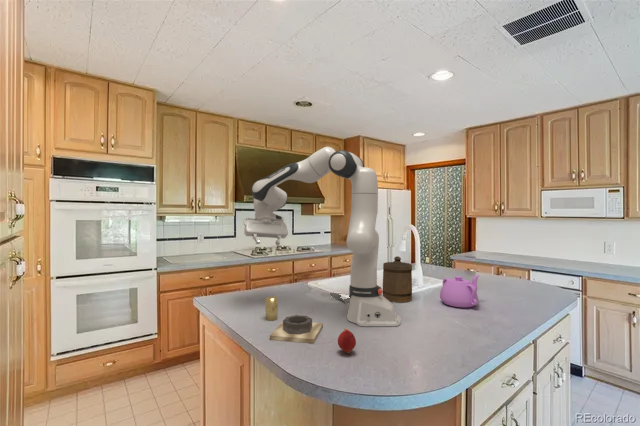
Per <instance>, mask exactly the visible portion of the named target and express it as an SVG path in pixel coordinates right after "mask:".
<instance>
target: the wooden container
mask: <svg viewBox="0 0 640 426" xmlns="http://www.w3.org/2000/svg"><path fill="white" fill-rule="evenodd" d="M393 259H394V260H393V261H387V262H383V265H382V267H383V269H382V291H383V292H382V296H384V297H385V298H386V299H387V300H389V301H390V302H391V303H410V302H411V301H412V299H413V277H412V276H413V273H412V270H413V264H411V263H409V262H402V261H401V260H402V258H401V257H400V256H394V258H393Z"/></svg>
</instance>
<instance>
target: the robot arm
mask: <svg viewBox="0 0 640 426" xmlns="http://www.w3.org/2000/svg"><path fill="white" fill-rule="evenodd" d="M330 172H332V173H333V174H334V175H336V176H338V177H341V178H343V179H348V180H349V181H350V182H351V205H350V207H351V208H350V216H349V217H350V218H349V223H348V229H347V230H348V231H347V237H346V241H345V242H346V246H347V248H348V250H349V251H350V252H352V257H351V263H350V281H349V282H350V284H349V288H348V293H349V294H348V295H349V297H350V304H348V311H347V316H346V319H347V320H348V321H349V322H351V323H354V324H357V325H358V326H360V327H399V326H400V325H401V323H402V317H401V316H400V315H399V314H397V313H396V309H395V306H394V304H393V302H390V301H389V300H387V299H386V298H385V297H384V296H383V287H381V286H379V285H378V284H377V283H378V282H377V281H378V280H377V279H378V277H377V276H378V260H379V259H378V258H379V248H380V247H379V244H380V236H379V233H378V231H377V230H376V225H377V218H378V209H379V208H378V207H379V205H378V203H379V185H378V183H379V182H378V176H377V172H376V171H375V169H373V168H371V167H365V163H364V162H363V160H362V158H360V157H359V156H357V155H356V154H355V153H353V152H350V151H347V150H345V149H344V150H343V149H340V150H335V149H334V148H333V147H331V146H325V147H324V146H323V148H320V149H318V150H317V151H315V152H313V153H312V154H311V155H310V156H308V157H307V158H305V159H303V160H300V161H298V162H291V163H289V164H287V165H285V166H282V167H281V168H280V169H277V170H275V172H274V171H273V173H271V174H269V175H267V176H266V177H263V178H260V179H258V180H256V181H255V182H254V183H253V184H252V186H251V194H252V196H253V197H252V198H253V209H254V218H249V217H246V218H245V219H243V225H244V235H245V236H246V237H252V240H254V241H255V245H260V243H261V240H260V238H272V239H273V238H274V239H277V240H275V246H280V244H281V239H286V238H287V236H288V233H289V232H288V231H289V230H288V228H287V224H286V222H284V220H285V218H284V217H283V216H281V215H278V214H276V213H274V212H277V211H279V210H280V209H282V208H283V207H285V206H286V205H287V202H288V194H287V192H286V191H285V190H283V189H282V188H280V187H278V185H280V184H283V183H284V182H286V181H290V180H293V181H299V182H302V183H307V184H313V183H316V182H318V181H319V180H321V179H322V178H324V177H326V175H328V174H329V173H330Z"/></svg>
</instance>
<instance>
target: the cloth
mask: <svg viewBox="0 0 640 426" xmlns="http://www.w3.org/2000/svg"><path fill="white" fill-rule="evenodd" d="M339 294H342V293H338V292H333V293H331V292H330V294H329V296H330V295H331V296H332V297H333V299H334V298H335V299H334V300H337V299H338V300H340V301H342V302H343V303H344V304H345V305H349V304H350V298H347V299H344V300H343V299H342V298H340V297H341V295H339ZM345 294H346V295H348V294H347V293H345ZM331 296H330V297H331ZM332 297H331V298H332ZM348 303H349V304H348Z"/></svg>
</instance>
